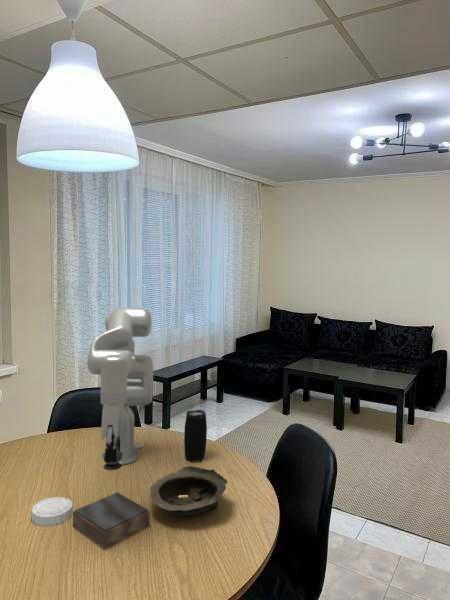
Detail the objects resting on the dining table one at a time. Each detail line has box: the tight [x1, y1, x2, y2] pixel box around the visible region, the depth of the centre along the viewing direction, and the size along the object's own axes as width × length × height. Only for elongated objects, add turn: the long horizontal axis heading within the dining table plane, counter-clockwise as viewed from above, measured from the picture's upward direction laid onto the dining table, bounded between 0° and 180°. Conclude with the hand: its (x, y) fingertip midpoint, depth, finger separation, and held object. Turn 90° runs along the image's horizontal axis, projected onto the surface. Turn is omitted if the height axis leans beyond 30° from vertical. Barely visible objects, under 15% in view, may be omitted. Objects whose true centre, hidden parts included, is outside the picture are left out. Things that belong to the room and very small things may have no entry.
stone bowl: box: [149, 465, 228, 517], centre depth 145 cm, size 25×25×9 cm
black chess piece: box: [102, 436, 123, 471], centre depth 132 cm, size 6×6×12 cm
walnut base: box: [72, 492, 151, 550], centre depth 133 cm, size 16×16×5 cm
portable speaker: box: [183, 409, 208, 463], centre depth 183 cm, size 9×9×20 cm
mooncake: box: [30, 496, 74, 527], centre depth 138 cm, size 12×12×4 cm
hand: (112, 456), depth 132 cm, fingers closed on black chess piece, 5 cm apart
